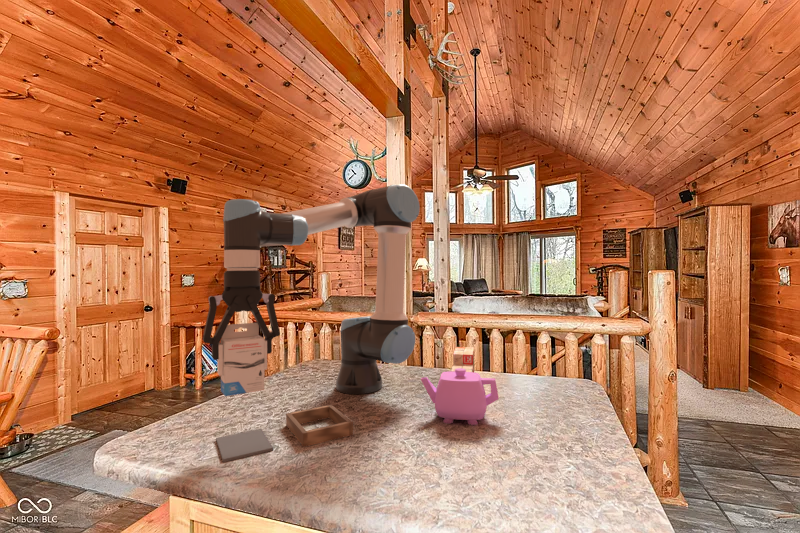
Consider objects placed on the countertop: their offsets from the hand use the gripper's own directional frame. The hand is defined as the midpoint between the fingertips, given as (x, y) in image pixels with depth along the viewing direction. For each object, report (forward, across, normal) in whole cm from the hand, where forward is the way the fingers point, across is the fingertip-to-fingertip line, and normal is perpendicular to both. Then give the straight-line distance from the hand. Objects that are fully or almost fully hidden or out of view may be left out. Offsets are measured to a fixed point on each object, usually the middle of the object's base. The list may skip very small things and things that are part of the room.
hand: (242, 371), depth 88 cm
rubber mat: (+17, 0, 0) cm, 17 cm away
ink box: (+5, 0, 0) cm, 5 cm away
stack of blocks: (+17, -66, -3) cm, 68 cm away
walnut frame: (+17, -17, +1) cm, 24 cm away
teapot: (+17, -51, +13) cm, 55 cm away
